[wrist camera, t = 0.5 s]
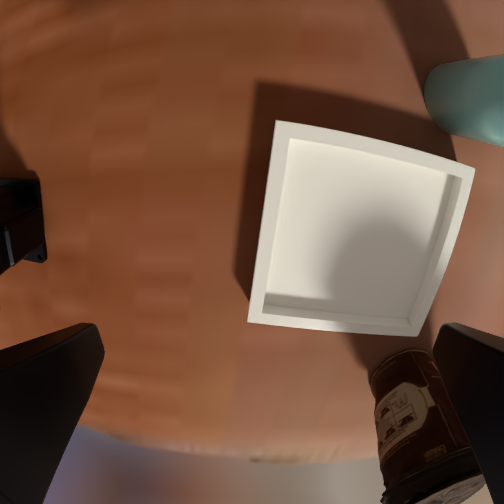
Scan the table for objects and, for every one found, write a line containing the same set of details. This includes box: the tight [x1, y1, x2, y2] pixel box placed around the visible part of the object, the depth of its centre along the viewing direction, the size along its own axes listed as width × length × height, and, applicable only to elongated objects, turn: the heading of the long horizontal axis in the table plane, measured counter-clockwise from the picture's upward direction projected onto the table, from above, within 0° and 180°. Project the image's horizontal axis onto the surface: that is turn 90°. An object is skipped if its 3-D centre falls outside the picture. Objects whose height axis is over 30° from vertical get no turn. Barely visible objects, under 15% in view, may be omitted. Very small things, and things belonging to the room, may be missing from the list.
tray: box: [247, 120, 475, 337], centre depth 19 cm, size 12×12×2 cm
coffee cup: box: [371, 349, 486, 504], centre depth 19 cm, size 9×8×13 cm
